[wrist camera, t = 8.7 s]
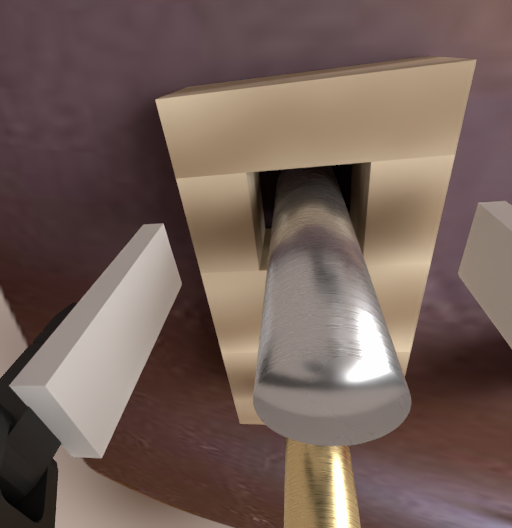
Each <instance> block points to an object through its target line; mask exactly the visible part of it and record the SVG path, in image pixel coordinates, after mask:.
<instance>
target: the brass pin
mask: <svg viewBox="0 0 512 528" xmlns="http://www.w3.org/2000/svg"><path fill="white" fill-rule="evenodd" d="M284 528H361V526H360V519H359V512H358V505H357V498H356V491H355V484H354V477H353V469H352V462H351V455H350V448H349V445H347V446H320V445H312V444H307V443H302V442H298V441H295V440H292V439H289V438H287V437H286V443H285V500H284Z"/></svg>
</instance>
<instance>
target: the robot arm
mask: <svg viewBox="0 0 512 528" xmlns="http://www.w3.org/2000/svg"><path fill="white" fill-rule="evenodd" d="M458 275H459V277H460V278H461V280H462V281H463V282H464V284H465V285H466V286H467V288H468V289H469V291H470V292H471V293H472V295H473V296H474V298H475V299H476V300H477V302H478V303H479V304H480V306H481V307H482V309H483V310H484V311H485V313H486V314H487V316H488V317H489V318H490V320H491V321H492V322H493V324H494V325H495V327H496V328H497V329H498V331H499V332H500V333H501V335H502V336H503V338H504V339H505V340H506V342H507V343H508V345H509V346H510V347H511V349H512V205H510V204H509V203H507V202H506V201H498V202H483V203H478V206H477V209H476V213H475V216H474V220H473V223H472V226H471V230H470V233H469V237H468V240H467V244H466V247H465V251H464V254H463V258H462V261H461V264H460V268H459V271H458ZM181 286H182V282H181V279H180V276H179V272H178V269H177V266H176V263H175V259H174V256H173V253H172V250H171V246H170V243H169V240H168V237H167V233H166V230H165V227H164V224H163V223H160V224H145V225H143V226H142V227H141V228H140V229H139V230H138V232H137V233H136V234H135V235H134V236H133V238H132V239H131V240H130V241H129V242H128V244H127V245H126V246H125V247H124V248H123V250H122V251H121V252H120V253H119V254H118V256H117V257H116V258H115V259H114V260H113V261H112V263H111V264H110V265H109V266H108V267H107V269H106V270H105V271H104V272H103V273H102V275H101V276H100V277H99V278H98V279H97V281H96V282H95V283H94V284H93V285H92V287H91V288H90V289H89V290H88V291H87V293H86V294H85V295H84V296H83V297H82V299H81V300H80V301H79V302H78V303H72V304H71V305H69V306H68V307H67V308H65V309H64V310H62V311H61V312H60V313H58V314H57V315H56V316H55V317H54V318H53V319H52V320H51V321H50V323H49V324H48V325H47V326H46V327H45V328H44V329H43V330H44V331H43V333H40V334H39V335H38V336H37V337H36V339H35V340H34V341H33V344H32V345H29V346H28V348H27V349H26V350H25V351H24V353H22V354H21V356H20V357H19V358H18V359H17V360H16V361H15V362H14V364H13V365H12V366H11V367H10V368H9V369H8V370H7V372H6V373H5V374H4V375H3V376H2V377H1V378H0V528H55V514H56V498H57V481H58V468H57V463H56V461H55V460H54V459H53V456H54V455H55V453H56V451H57V450H58V448H59V446H60V445H62V446H63V447H64V448H65V449H66V450H67V452H68V453H69V454H70V455H71V456H72V457H88V458H102V456H103V454H104V452H105V450H106V448H107V446H108V443H109V441H110V439H111V437H112V435H113V433H114V430H115V428H116V426H117V424H118V422H119V420H120V418H121V415H122V413H123V411H124V409H125V407H126V405H127V402H128V400H129V398H130V396H131V394H132V392H133V389H134V387H135V385H136V383H137V381H138V379H139V376H140V374H141V372H142V370H143V368H144V366H145V363H146V361H147V359H148V357H149V355H150V353H151V350H152V348H153V346H154V344H155V342H156V340H157V337H158V335H159V333H160V331H161V329H162V327H163V325H164V322H165V320H166V318H167V316H168V314H169V312H170V309H171V307H172V305H173V303H174V301H175V299H176V296H177V294H178V292H179V290H180V288H181Z"/></svg>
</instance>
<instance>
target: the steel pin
mask: <svg viewBox="0 0 512 528" xmlns="http://www.w3.org/2000/svg"><path fill="white" fill-rule="evenodd" d="M253 405H254V409H255V411H256V413H257V415H258V417H259V418H260V419H261V421H262V422H263V423H264V424H265V425H266V426H268V427H269V428H270V429H272V430H273V431H275V432H276V433H278V434H280V435H282V436H284V437H287V438H289V439H292V440H295V441H298V442H302V443H307V444H312V445H320V446H347V445H355V444H360V443H365V442H368V441H372V440H375V439H377V438H380V437H382V436H384V435H386V434H388V433H390V432H391V431H393V430H394V429H396V428H397V427H398V426H399V425H400V424H401V423H402V422H403V421H404V420H405V419H406V417H407V416H408V413H409V411H410V408H411V395H410V392H409V389H408V386H407V383H406V380H405V377H404V374H403V371H402V368H401V365H400V362H399V359H398V357H397V354H396V351H395V348H394V345H393V342H392V339H391V336H390V333H389V330H388V327H387V324H386V322H385V319H384V316H383V313H382V310H381V307H380V304H379V301H378V298H377V295H376V292H375V289H374V286H373V284H372V281H371V278H370V275H369V272H368V269H367V266H366V263H365V260H364V257H363V254H362V251H361V249H360V246H359V243H358V240H357V237H356V234H355V231H354V228H353V225H352V222H351V219H350V216H349V213H348V211H347V208H346V205H345V202H344V199H343V196H342V193H341V190H340V187H339V184H338V181H337V178H336V175H335V173H334V171H333V169H332V168H331V166H330V165H329V166H317V167H306V168H294V169H282V170H281V172H280V174H279V176H278V179H277V185H276V194H275V203H274V212H273V221H272V230H271V239H270V248H269V257H268V267H267V276H266V285H265V294H264V303H263V312H262V321H261V330H260V339H259V348H258V357H257V366H256V375H255V384H254V393H253Z"/></svg>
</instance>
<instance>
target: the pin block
mask: <svg viewBox="0 0 512 528" xmlns="http://www.w3.org/2000/svg"><path fill="white" fill-rule="evenodd" d="M475 65H476V59H462V58H449V57H435V56H425V57H417V58H409V59H401V60H394V61H386V62H378V63H370V64H362V65H355V66H347V67H339V68H331V69H323V70H316V71H308V72H300V73H292V74H284V75H277V76H269V77H261V78H253V79H245V80H238V81H230V82H222V83H214V84H206V85H199V86H191V87H186V88H183V89H181V90H178V91H176V92H173V93H170V94H168V95H165V96H163V97H160V98H158V99H155V101H156V105H157V109H158V112H159V116H160V120H161V124H162V128H163V131H164V135H165V139H166V143H167V147H168V151H169V154H170V158H171V162H172V166H173V170H174V173H175V177H176V181H177V185H178V189H179V193H180V196H181V200H182V204H183V208H184V212H185V215H186V219H187V223H188V227H189V231H190V234H191V238H192V242H193V246H194V250H195V254H196V257H197V261H198V265H199V269H200V273H201V276H202V280H203V284H204V288H205V292H206V296H207V299H208V303H209V307H210V311H211V315H212V318H213V322H214V326H215V330H216V334H217V338H218V341H219V345H220V349H221V353H222V357H223V360H224V364H225V368H226V372H227V376H228V380H229V383H230V387H231V391H232V395H233V399H234V402H235V406H236V410H237V414H238V418H239V422H240V424H264V423H263V422H262V421H261V419H260V418H259V417H258V415H257V413H256V411H255V409H254V405H253V393H254V384H255V375H256V366H257V357H258V348H259V339H260V330H261V321H262V312H263V303H264V294H265V285H266V276H267V267H268V257H269V248H270V239H271V230H272V228H271V229H265V221H264V212H263V203H262V194H261V185H260V176H259V171H271V170H282V169H294V168H306V167H317V166H329V165H341V164H352V174H351V194H350V214H349V216H350V219H351V222H352V225H353V228H354V231H355V234H356V237H357V240H358V243H359V246H360V249H361V251H362V254H363V257H364V260H365V263H366V266H367V269H368V272H369V275H370V278H371V281H372V284H373V286H374V289H375V292H376V295H377V298H378V301H379V304H380V307H381V310H382V313H383V316H384V319H385V322H386V324H387V327H388V330H389V333H390V336H391V339H392V342H393V345H394V348H395V351H396V354H397V357H398V359H399V362H400V365H401V368H402V371H403V374H404V377H405V374H406V370H407V365H408V361H409V356H410V352H411V348H412V343H413V339H414V334H415V330H416V326H417V321H418V317H419V312H420V308H421V303H422V299H423V295H424V290H425V286H426V281H427V277H428V272H429V268H430V264H431V259H432V255H433V250H434V246H435V241H436V237H437V233H438V228H439V224H440V219H441V215H442V211H443V206H444V202H445V197H446V193H447V188H448V184H449V180H450V175H451V171H452V166H453V162H454V157H455V153H456V149H457V144H458V140H459V135H460V131H461V127H462V122H463V118H464V113H465V109H466V104H467V100H468V96H469V91H470V87H471V82H472V78H473V73H474V69H475Z"/></svg>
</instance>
